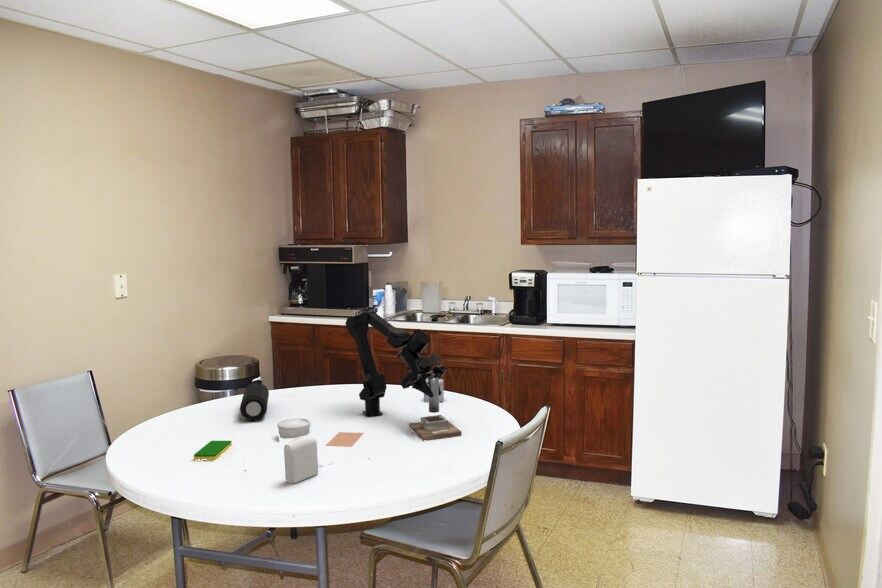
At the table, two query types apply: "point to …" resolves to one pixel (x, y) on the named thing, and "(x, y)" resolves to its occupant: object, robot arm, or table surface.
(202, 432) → the table surface
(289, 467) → the photo printer
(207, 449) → the dish sponge
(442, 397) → the medicine box
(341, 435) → the peach flat block
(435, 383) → the steel peg
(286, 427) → the ramekin
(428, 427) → the board
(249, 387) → the portable speaker
